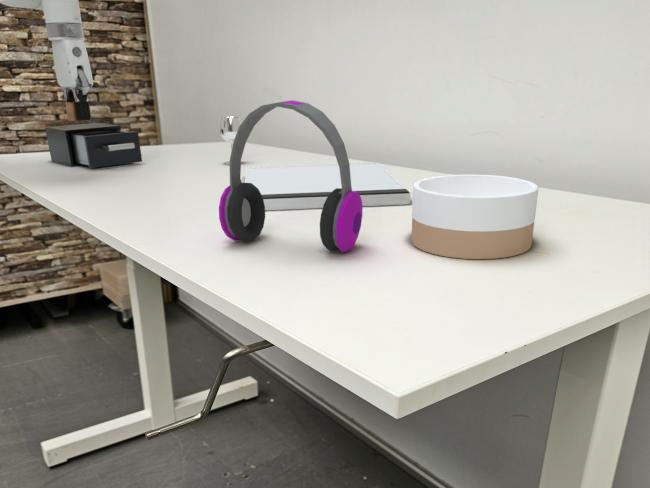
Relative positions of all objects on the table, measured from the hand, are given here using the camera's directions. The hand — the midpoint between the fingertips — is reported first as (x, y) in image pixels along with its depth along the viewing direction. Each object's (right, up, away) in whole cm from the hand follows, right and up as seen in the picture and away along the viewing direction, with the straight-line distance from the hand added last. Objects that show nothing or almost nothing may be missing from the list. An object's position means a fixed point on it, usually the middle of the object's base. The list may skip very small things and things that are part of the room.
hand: (79, 118), depth 142 cm
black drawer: (-1, -5, +21) cm, 22 cm away
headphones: (+53, -37, -53) cm, 83 cm away
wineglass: (+33, -5, +21) cm, 39 cm away
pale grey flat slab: (+57, -20, -15) cm, 62 cm away
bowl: (+79, -37, -53) cm, 102 cm away
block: (0, 0, 0) cm, 0 cm away
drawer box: (-10, -2, +32) cm, 33 cm away
